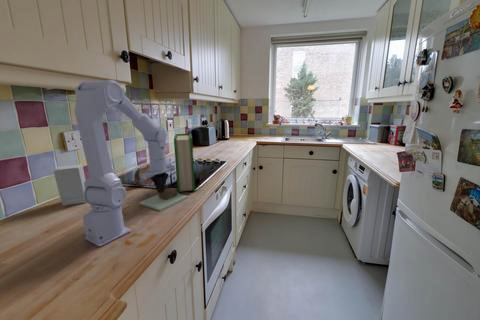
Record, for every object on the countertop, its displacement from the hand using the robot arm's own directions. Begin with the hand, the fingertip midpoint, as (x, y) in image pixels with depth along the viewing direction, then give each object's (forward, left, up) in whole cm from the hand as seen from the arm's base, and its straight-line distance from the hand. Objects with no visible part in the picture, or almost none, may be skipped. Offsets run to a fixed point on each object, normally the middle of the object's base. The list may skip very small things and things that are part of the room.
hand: (160, 192), depth 90 cm
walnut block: (+1, 0, -2) cm, 2 cm away
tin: (+12, +26, -4) cm, 29 cm away
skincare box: (-18, +30, -4) cm, 35 cm away
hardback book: (+19, +5, -4) cm, 20 cm away
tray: (+1, 0, -4) cm, 4 cm away
